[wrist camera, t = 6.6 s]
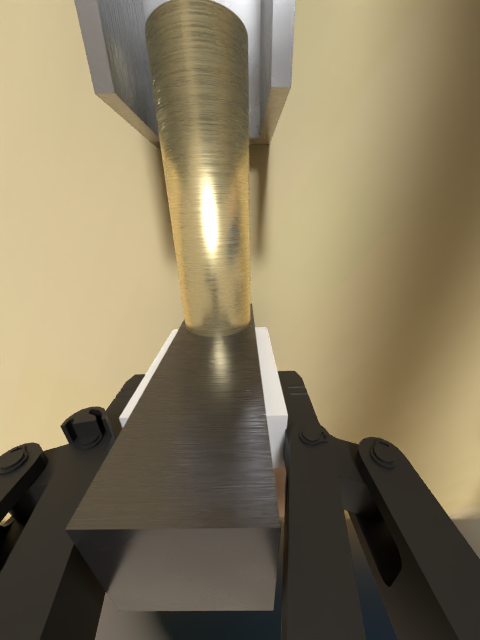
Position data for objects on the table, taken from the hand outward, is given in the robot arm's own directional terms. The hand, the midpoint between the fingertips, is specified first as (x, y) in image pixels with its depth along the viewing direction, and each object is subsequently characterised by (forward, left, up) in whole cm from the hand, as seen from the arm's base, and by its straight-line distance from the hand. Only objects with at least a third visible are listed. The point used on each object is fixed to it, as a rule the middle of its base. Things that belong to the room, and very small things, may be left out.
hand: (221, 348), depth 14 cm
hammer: (-2, 0, -3) cm, 3 cm away
